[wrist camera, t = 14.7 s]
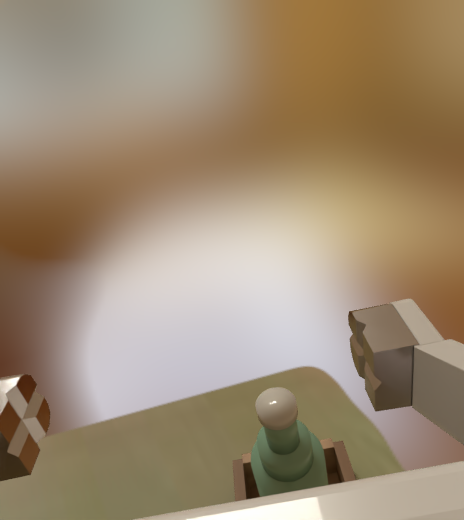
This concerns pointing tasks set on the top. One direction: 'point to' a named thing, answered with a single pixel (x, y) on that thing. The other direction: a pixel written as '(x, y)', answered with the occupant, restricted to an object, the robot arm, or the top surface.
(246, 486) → the u rest
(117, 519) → the top surface
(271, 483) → the bottle
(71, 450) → the top surface
